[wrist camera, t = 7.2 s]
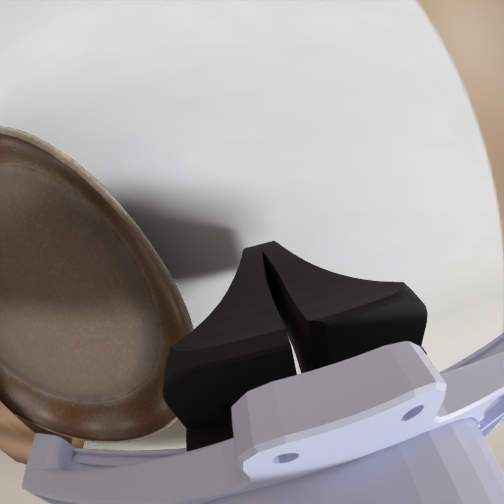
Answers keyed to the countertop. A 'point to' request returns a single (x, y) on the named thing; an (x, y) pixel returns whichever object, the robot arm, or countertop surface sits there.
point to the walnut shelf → (22, 435)
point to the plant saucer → (80, 302)
